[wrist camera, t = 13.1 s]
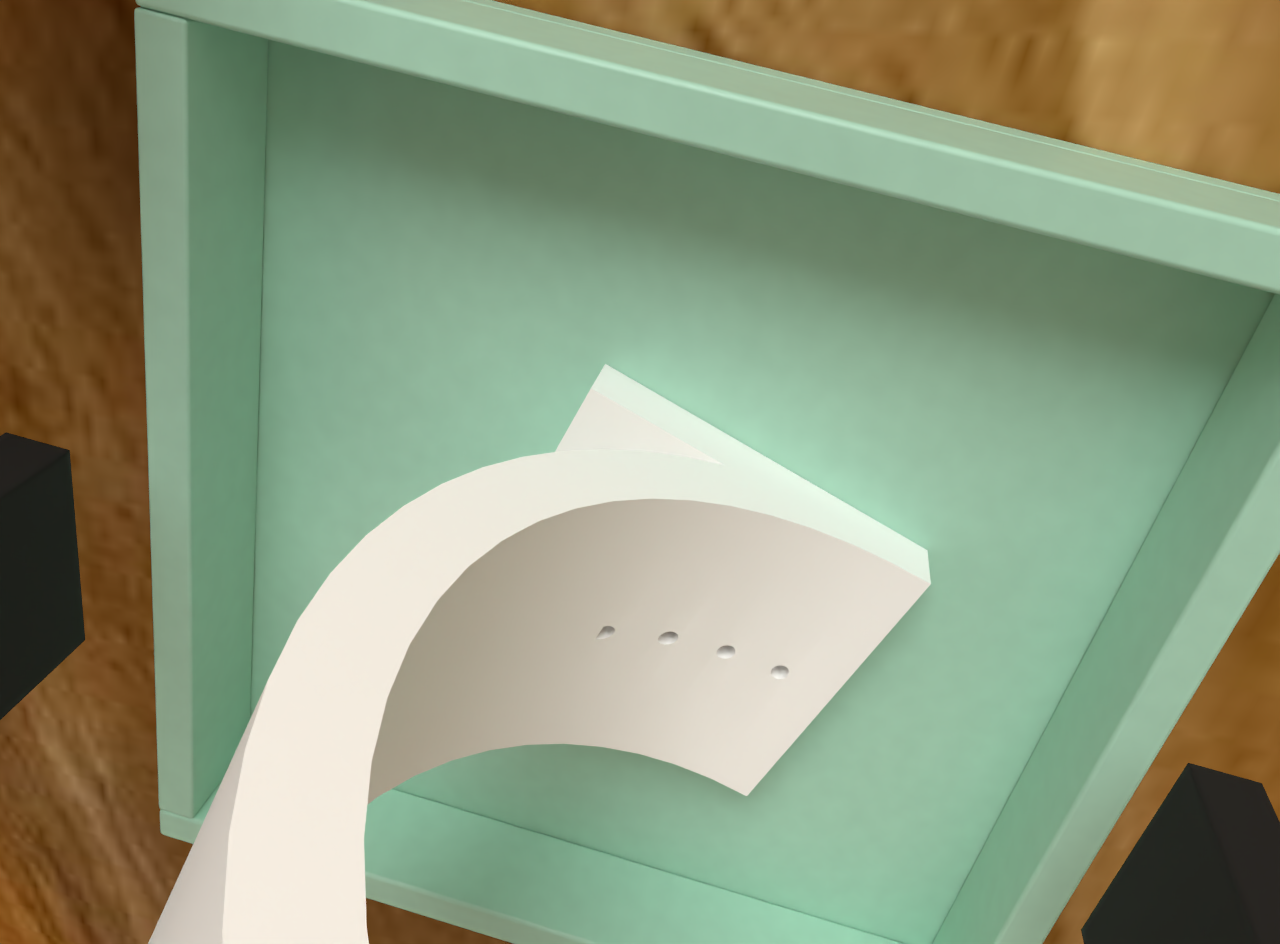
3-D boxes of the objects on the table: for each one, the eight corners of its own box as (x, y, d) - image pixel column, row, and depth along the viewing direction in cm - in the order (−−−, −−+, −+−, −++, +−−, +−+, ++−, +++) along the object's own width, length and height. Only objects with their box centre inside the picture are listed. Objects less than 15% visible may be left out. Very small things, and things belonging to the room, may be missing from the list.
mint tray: (250, -60, 13) (130, -58, 11) (1351, 210, 12) (1453, 272, 10) (235, 735, 19) (158, 835, 17) (949, 951, 18) (959, 1084, 16)
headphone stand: (751, 758, 16) (548, 2249, 6) (409, 566, 16) (-474, 1810, 5) (930, 549, 14) (1115, 2355, 4) (537, 319, 14) (-543, 1620, 3)
